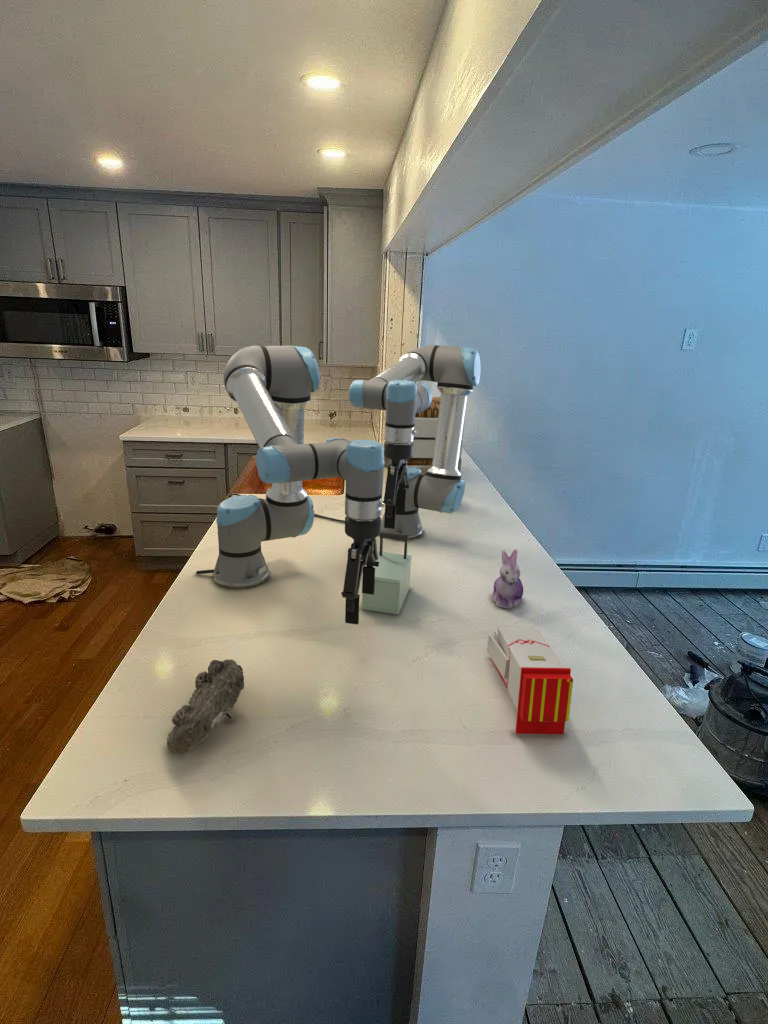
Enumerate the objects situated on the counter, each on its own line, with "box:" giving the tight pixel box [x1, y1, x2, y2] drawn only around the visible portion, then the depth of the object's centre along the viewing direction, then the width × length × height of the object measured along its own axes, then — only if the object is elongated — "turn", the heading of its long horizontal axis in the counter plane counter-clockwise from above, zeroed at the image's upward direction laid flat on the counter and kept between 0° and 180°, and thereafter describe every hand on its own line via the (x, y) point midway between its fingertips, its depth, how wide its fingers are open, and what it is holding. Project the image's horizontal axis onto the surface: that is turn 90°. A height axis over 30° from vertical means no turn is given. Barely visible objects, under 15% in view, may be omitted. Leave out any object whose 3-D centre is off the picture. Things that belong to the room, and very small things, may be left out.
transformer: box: [383, 396, 465, 474], centre depth 268 cm, size 34×33×41 cm
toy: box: [486, 627, 574, 736], centre depth 118 cm, size 12×13×30 cm
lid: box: [374, 532, 413, 584], centre depth 151 cm, size 16×10×8 cm, turn 167°
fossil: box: [166, 658, 245, 754], centre depth 106 cm, size 22×10×15 cm
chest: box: [361, 560, 412, 615], centre depth 154 cm, size 15×10×9 cm, turn 167°
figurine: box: [492, 548, 524, 609], centre depth 154 cm, size 9×10×15 cm
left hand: (360, 607), depth 124 cm, fingers open, 13 cm apart
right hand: (394, 519), depth 153 cm, fingers open, 13 cm apart
